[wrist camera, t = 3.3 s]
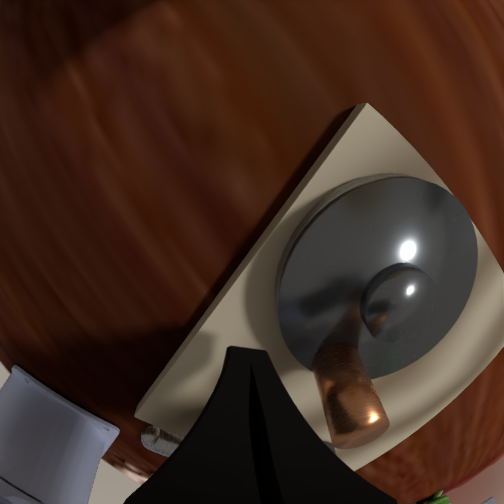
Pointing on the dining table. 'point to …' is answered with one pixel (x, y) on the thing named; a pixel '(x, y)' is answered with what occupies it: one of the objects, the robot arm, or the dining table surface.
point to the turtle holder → (438, 499)
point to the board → (267, 325)
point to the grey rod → (171, 440)
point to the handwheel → (372, 290)
